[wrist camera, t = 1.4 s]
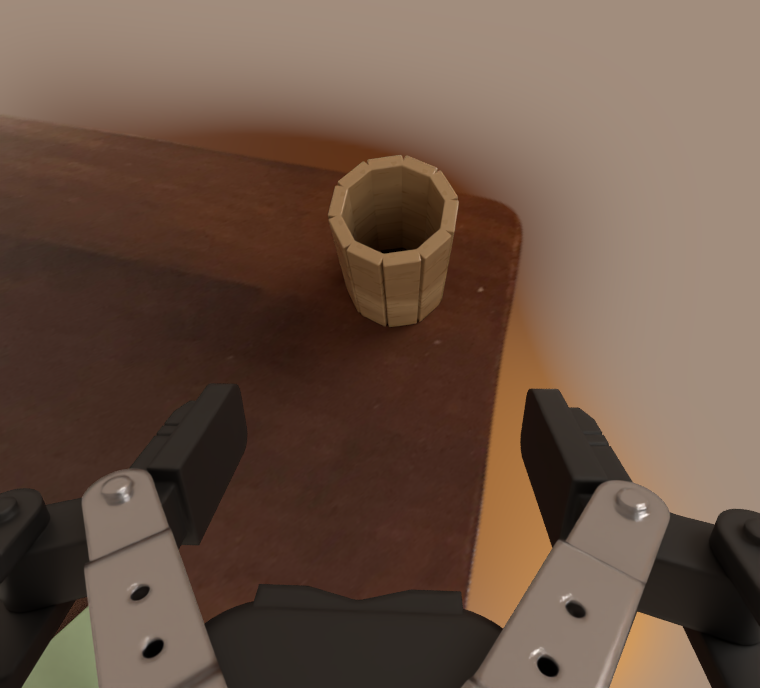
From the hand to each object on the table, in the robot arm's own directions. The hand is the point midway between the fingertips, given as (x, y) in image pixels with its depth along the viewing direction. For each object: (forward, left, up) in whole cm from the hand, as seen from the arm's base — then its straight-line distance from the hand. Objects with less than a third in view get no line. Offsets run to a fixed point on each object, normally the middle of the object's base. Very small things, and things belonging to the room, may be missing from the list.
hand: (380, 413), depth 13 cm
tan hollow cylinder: (+8, -8, -14) cm, 18 cm away
